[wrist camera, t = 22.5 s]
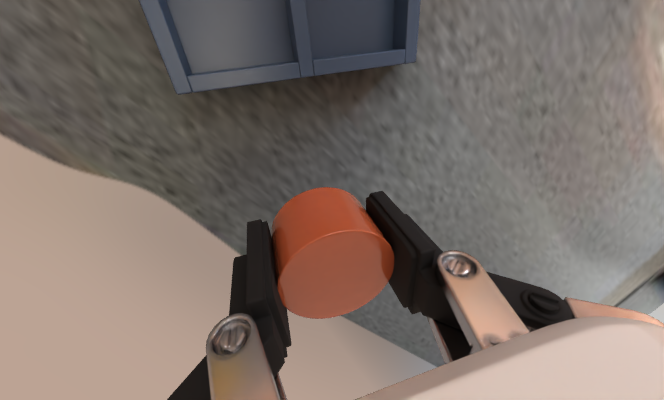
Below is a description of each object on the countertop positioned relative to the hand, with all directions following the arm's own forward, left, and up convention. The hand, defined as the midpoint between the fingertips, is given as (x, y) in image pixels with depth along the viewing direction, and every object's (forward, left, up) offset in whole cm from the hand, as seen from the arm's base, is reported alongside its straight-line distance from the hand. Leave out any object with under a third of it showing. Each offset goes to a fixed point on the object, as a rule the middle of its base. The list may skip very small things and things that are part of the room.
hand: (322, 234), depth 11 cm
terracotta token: (0, 0, 0) cm, 0 cm away
